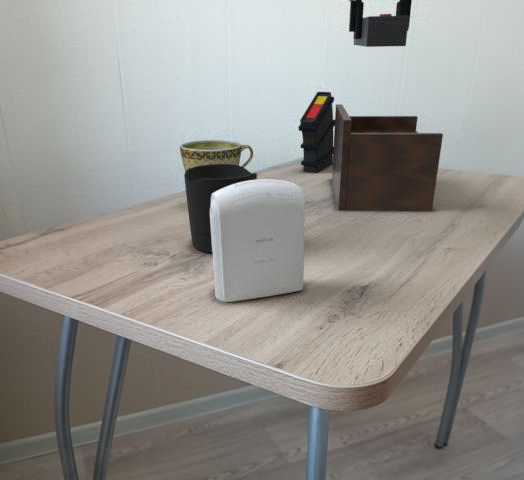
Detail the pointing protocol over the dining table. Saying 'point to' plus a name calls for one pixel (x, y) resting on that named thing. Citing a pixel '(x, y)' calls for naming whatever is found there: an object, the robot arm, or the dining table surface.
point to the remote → (383, 31)
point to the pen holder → (208, 197)
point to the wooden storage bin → (383, 163)
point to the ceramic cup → (212, 153)
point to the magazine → (318, 133)
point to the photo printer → (257, 239)
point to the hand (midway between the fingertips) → (378, 36)
